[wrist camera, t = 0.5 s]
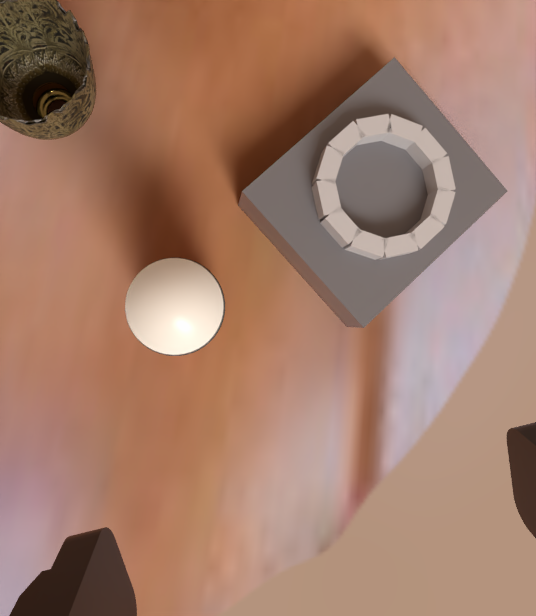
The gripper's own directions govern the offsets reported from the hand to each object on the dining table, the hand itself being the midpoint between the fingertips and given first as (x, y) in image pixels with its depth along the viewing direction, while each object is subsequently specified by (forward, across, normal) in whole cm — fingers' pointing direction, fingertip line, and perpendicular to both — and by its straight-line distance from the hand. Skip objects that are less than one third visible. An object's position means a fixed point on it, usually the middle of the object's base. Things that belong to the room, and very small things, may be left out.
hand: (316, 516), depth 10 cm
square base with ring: (+29, -9, -3) cm, 31 cm away
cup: (+30, +11, -14) cm, 35 cm away
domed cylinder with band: (+26, +6, +1) cm, 27 cm away
